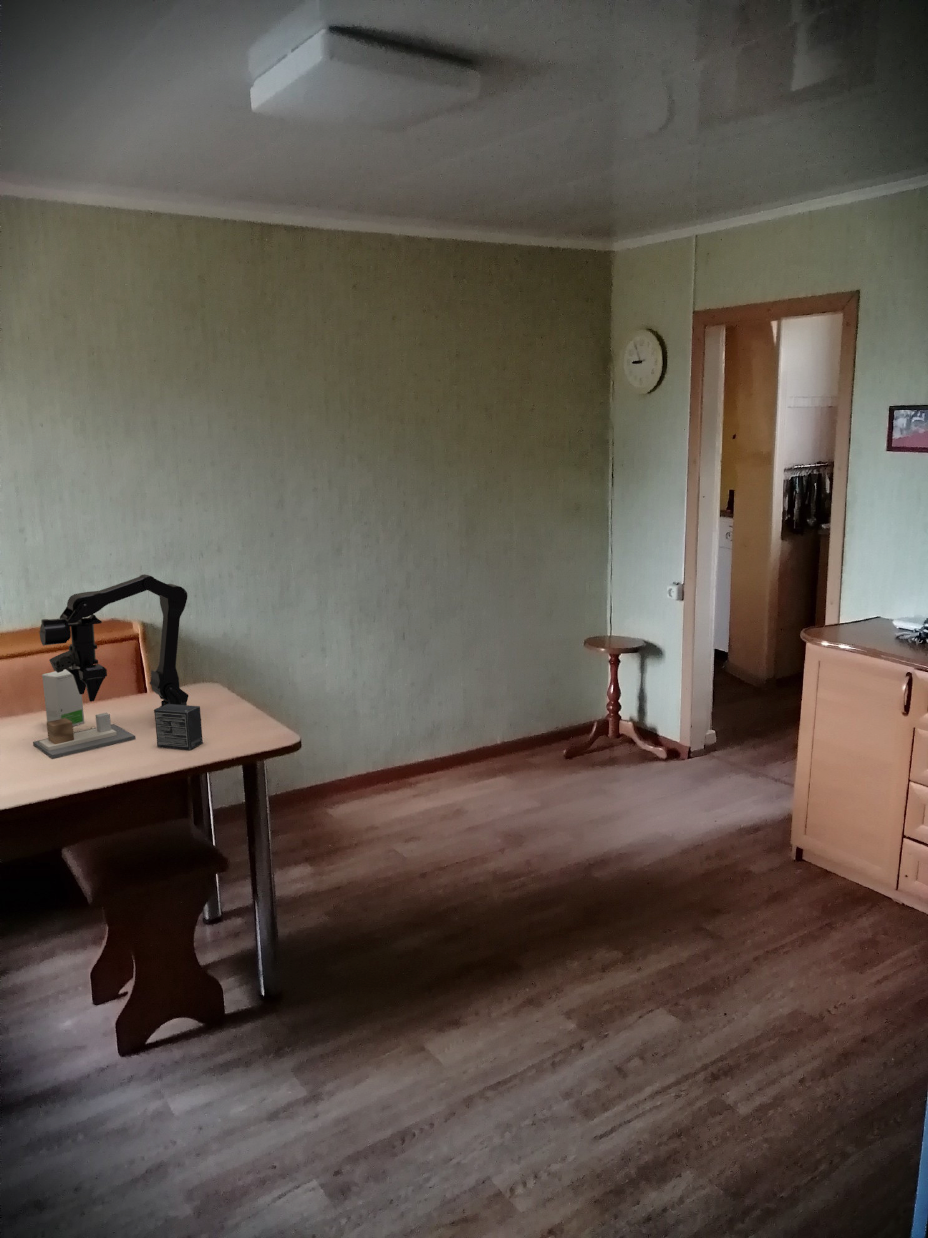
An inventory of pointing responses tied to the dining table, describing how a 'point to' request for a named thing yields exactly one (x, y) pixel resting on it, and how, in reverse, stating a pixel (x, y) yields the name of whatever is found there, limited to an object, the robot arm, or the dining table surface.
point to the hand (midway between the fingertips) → (86, 697)
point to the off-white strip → (86, 734)
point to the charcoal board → (88, 743)
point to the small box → (178, 726)
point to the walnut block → (60, 731)
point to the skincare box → (62, 697)
